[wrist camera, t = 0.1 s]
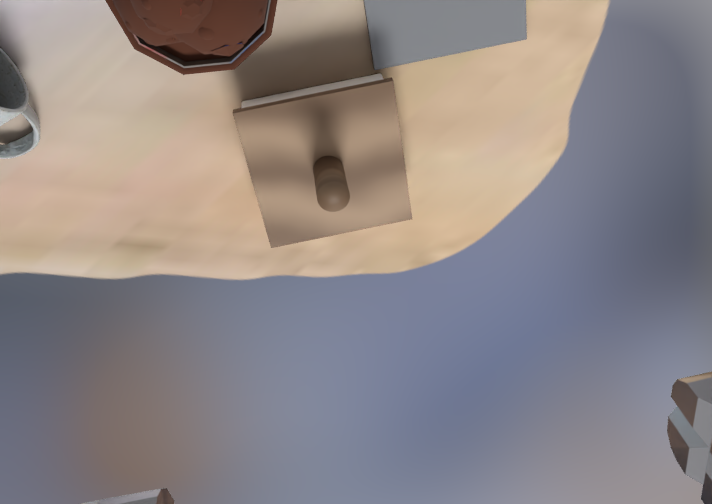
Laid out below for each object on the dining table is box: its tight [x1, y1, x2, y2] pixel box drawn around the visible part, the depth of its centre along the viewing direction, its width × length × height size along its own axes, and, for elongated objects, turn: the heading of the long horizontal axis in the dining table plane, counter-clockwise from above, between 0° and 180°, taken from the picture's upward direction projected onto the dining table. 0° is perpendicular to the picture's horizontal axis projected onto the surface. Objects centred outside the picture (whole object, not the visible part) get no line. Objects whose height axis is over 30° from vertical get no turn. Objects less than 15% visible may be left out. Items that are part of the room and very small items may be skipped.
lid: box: [233, 78, 412, 248], centre depth 55 cm, size 13×13×6 cm
